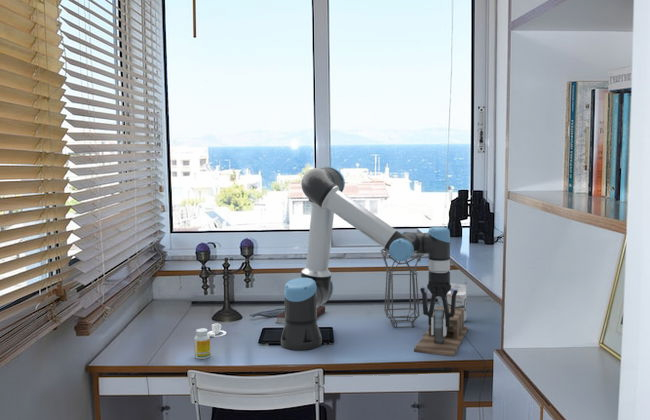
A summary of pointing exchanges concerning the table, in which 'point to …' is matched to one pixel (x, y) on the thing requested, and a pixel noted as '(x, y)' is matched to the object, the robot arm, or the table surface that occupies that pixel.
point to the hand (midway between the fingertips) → (438, 334)
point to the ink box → (459, 298)
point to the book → (282, 316)
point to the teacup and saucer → (216, 330)
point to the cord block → (440, 326)
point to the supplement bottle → (202, 344)
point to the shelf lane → (445, 337)
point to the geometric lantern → (392, 290)
